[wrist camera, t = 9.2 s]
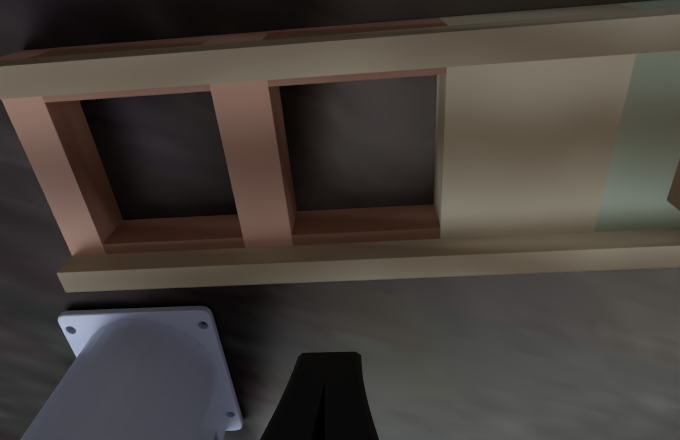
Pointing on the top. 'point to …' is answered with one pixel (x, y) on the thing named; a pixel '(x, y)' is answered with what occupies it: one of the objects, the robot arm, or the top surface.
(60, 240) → the top surface
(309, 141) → the top surface
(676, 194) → the walnut block
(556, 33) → the trap lane
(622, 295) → the top surface
